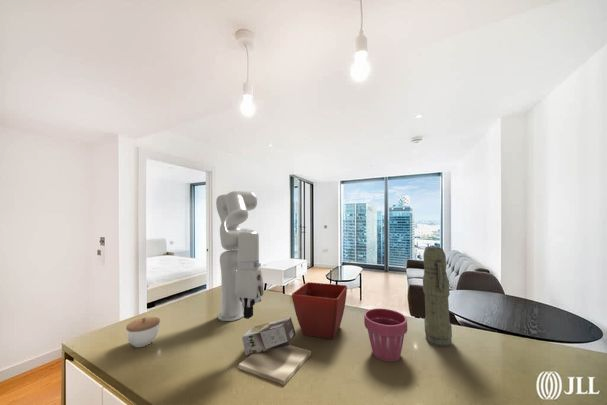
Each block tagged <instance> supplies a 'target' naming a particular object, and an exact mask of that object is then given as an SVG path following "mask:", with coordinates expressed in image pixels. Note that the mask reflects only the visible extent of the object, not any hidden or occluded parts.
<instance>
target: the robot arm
mask: <svg viewBox="0 0 607 405" xmlns="http://www.w3.org/2000/svg"><path fill="white" fill-rule="evenodd" d="M215 205H216V210H217V214H218V216H219V219H220V222H221V223H220V226H219V237H220V244H221V245H220V246H221V247H222V248H223V249H224V250H226V251H222V253H221V254H220V256H219V267H220V275H221V276H220V277H221V278H220V280H221V283H220V284H221V293H220V294H221V295H220V296H221V297H220V300H221V301H220V302H221V304H220V308H221V309H220V312H219V313H218V314H217V319H218V320H219V321H221V322H231V321H232V322H233V321H237V320H240V319H242V318H244V319H245V320H246V319H247V320H249V319H250V318H252V317H253V316H254V306H255V304H256V303H257V304H258V303H260V302H262V297H263V295H264V279H263V273H262V269H261V268H260V267H261V265H262V263H261V262H260V245H259V244H260V240H259V239H260V236H259V233H258V231H256V230H253V229H251V228H240V227H239V225H241V224H243V223H245V222H246V221H247V219H248V217H249V211H253V210H255V209H256V208H257V206H258V199H257V196H256V193H254V192H252V191H240V190H239V191H235V190H234V191H233V190H232V191H230V192H228V193H225V194H221V195H218V196H217V198H216V201H215Z"/></svg>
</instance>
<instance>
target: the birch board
mask: <svg viewBox="0 0 607 405" xmlns="http://www.w3.org/2000/svg"><path fill="white" fill-rule="evenodd" d="M311 355H312V351H311V350H310V349H309V350H308V349H305V348H301V347H298V346H295V345H291V344H290V345H289V346H285V347H280V348H276V349H271V350H267V351H263V352H258V353H254V354H249V356H247V357H246V358H245V359H244V360H243V361H241V362H240V363H239V364H238V369H240V370H242V371H245V372H247V373H251V374H253V375H256V376H258V377H261V378H264V379H266V380H269V381H272V382H274V383H277V384H280V385H282V386H285V385H286V384H287V383H288V382H289V380H290V379H291V378H292V377H293V376H294V375H295V373H297V371H298V370H299V369H300V368H301V367H302V366H303V365H304V363H305V362H306V361H307V360H308V358H309V357H310V356H311Z"/></svg>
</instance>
